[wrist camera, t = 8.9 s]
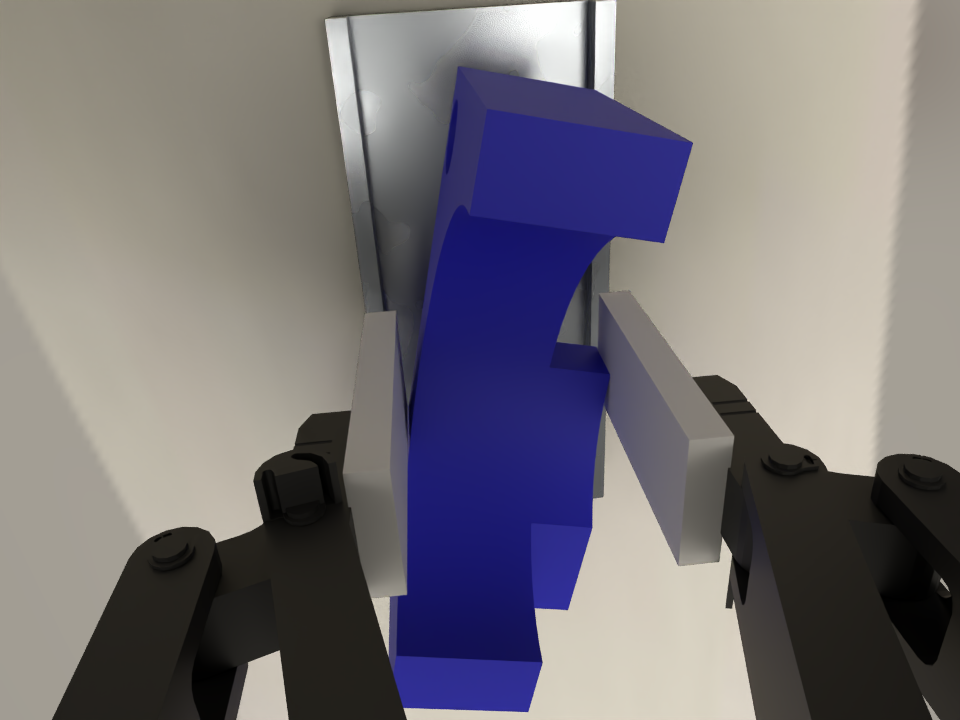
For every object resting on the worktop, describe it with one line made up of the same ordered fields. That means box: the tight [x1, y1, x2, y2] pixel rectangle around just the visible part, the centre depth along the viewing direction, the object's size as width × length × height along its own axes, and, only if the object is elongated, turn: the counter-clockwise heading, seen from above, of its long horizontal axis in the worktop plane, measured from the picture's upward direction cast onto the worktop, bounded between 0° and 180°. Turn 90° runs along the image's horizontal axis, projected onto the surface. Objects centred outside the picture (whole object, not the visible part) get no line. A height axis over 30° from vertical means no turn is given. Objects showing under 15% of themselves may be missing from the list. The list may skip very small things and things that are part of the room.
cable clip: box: [389, 66, 693, 712], centre depth 16 cm, size 12×4×6 cm, turn 170°
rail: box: [325, 0, 616, 498], centre depth 22 cm, size 15×7×1 cm, turn 3°
